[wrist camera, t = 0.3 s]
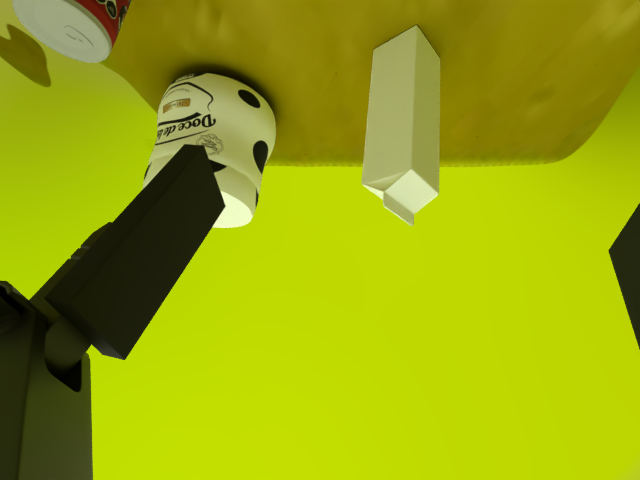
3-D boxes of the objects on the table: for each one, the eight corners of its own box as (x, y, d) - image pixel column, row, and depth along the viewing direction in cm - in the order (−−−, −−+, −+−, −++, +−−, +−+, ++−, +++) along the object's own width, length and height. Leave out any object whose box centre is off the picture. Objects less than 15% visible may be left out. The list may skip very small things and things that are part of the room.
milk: (416, 23, 43) (411, 197, 35) (441, 58, 47) (440, 221, 39) (372, 49, 47) (358, 211, 39) (397, 79, 51) (389, 231, 43)
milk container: (175, 38, 49) (136, 159, 43) (297, 93, 56) (278, 204, 50) (161, 112, 64) (130, 209, 57) (259, 148, 70) (241, 238, 64)
